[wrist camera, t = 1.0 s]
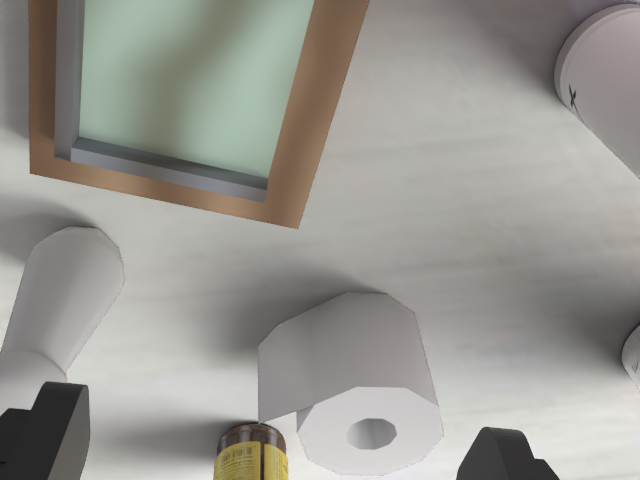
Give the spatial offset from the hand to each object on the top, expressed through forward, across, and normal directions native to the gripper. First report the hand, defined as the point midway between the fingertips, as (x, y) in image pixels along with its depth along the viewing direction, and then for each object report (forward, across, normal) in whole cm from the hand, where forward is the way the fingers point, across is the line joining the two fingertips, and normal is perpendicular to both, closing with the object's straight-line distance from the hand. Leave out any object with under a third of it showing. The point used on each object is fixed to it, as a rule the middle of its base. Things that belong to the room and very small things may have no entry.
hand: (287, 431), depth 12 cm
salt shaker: (+24, +11, +15) cm, 30 cm away
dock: (+24, +5, 0) cm, 24 cm away
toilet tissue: (+24, -7, +20) cm, 32 cm away
